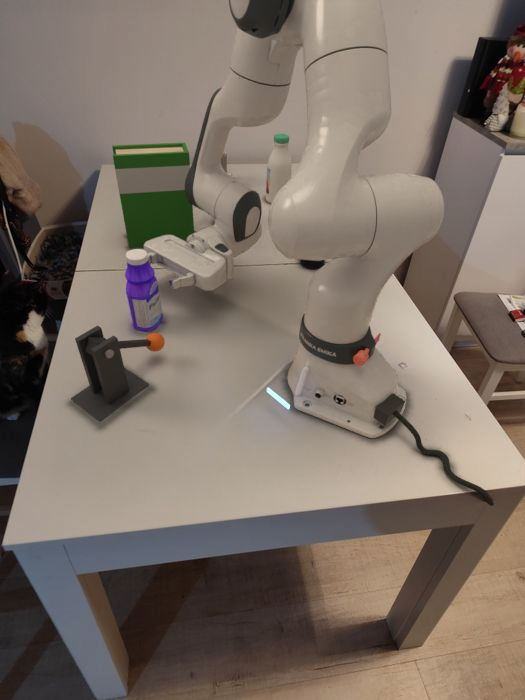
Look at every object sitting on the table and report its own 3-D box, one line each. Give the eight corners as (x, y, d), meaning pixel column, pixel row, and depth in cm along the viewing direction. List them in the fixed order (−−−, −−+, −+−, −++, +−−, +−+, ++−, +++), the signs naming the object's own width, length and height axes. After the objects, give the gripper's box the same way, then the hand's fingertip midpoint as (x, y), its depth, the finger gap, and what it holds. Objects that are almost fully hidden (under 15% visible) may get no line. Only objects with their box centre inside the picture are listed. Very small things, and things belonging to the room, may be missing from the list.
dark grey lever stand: (121, 369, 85) (107, 312, 76) (150, 388, 82) (139, 331, 73) (72, 403, 79) (50, 345, 69) (101, 425, 75) (82, 367, 66)
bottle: (154, 337, 93) (143, 265, 81) (129, 333, 93) (114, 261, 82) (167, 317, 98) (158, 246, 86) (142, 313, 99) (130, 242, 87)
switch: (152, 346, 86) (157, 329, 85) (165, 354, 85) (170, 336, 84) (81, 352, 72) (86, 332, 71) (95, 362, 71) (101, 341, 70)
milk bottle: (293, 199, 147) (299, 135, 134) (281, 207, 142) (286, 141, 129) (273, 193, 150) (277, 129, 136) (261, 201, 145) (263, 135, 131)
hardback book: (129, 248, 119) (112, 156, 103) (127, 235, 124) (112, 145, 108) (194, 242, 123) (189, 152, 107) (191, 230, 128) (184, 142, 112)
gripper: (171, 222, 101) (121, 244, 93) (238, 254, 92) (188, 282, 84) (174, 247, 105) (126, 270, 97) (238, 280, 96) (191, 308, 88)
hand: (155, 275), depth 90 cm, fingers open, 8 cm apart
